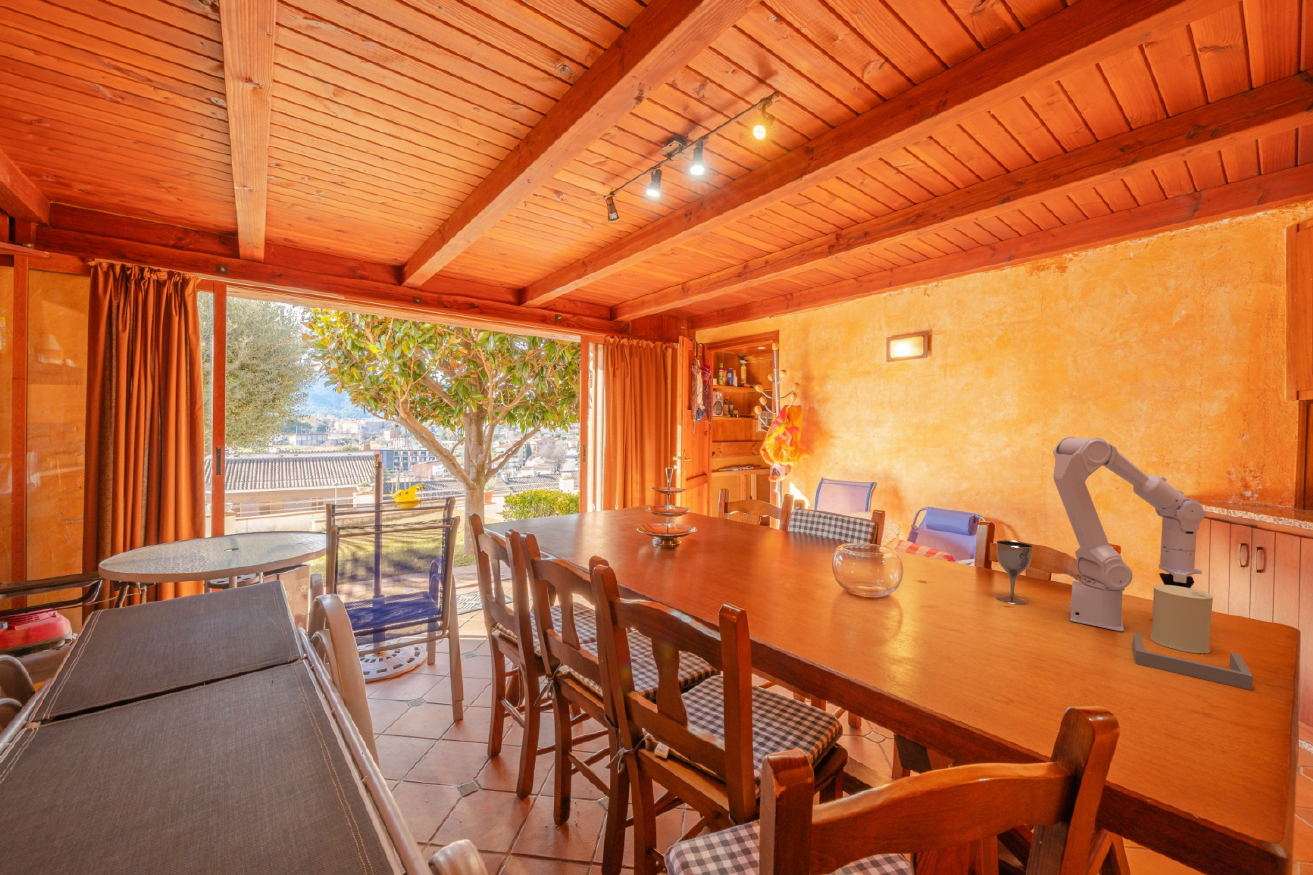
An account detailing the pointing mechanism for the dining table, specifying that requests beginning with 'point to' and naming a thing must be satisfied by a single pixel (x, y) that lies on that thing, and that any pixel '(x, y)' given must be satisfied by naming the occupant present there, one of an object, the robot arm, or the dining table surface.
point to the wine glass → (1013, 564)
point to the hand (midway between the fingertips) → (1174, 606)
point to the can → (1181, 618)
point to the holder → (1195, 666)
